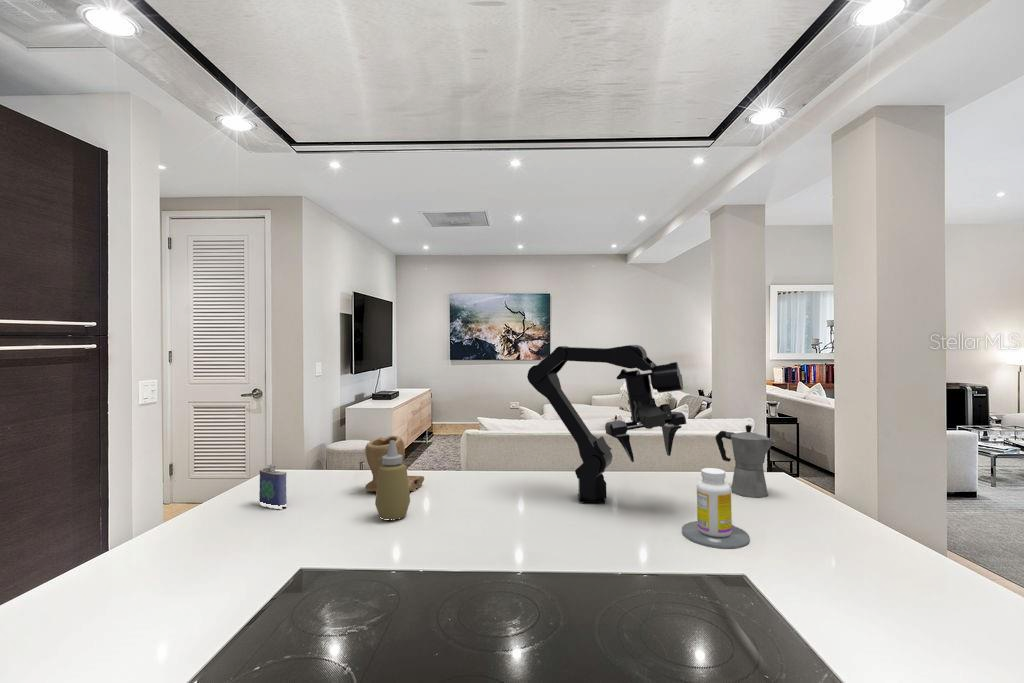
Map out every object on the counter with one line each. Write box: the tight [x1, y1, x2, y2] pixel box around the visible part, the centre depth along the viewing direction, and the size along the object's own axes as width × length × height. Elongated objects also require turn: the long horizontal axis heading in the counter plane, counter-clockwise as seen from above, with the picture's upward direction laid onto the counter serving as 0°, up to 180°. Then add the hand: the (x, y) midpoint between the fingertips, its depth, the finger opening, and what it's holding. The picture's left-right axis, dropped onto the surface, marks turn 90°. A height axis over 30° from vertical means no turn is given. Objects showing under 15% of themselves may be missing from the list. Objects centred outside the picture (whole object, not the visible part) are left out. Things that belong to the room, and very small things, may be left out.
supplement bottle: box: [696, 467, 733, 537], centre depth 100 cm, size 7×7×13 cm
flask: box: [258, 463, 288, 506], centre depth 121 cm, size 9×3×11 cm, turn 61°
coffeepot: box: [714, 424, 777, 499], centre depth 129 cm, size 15×9×18 cm, turn 44°
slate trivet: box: [681, 520, 751, 550], centre depth 100 cm, size 13×13×1 cm
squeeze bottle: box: [374, 440, 411, 520], centre depth 113 cm, size 8×8×18 cm
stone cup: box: [364, 435, 425, 493], centre depth 133 cm, size 15×12×15 cm
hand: (650, 458), depth 117 cm, fingers open, 9 cm apart
